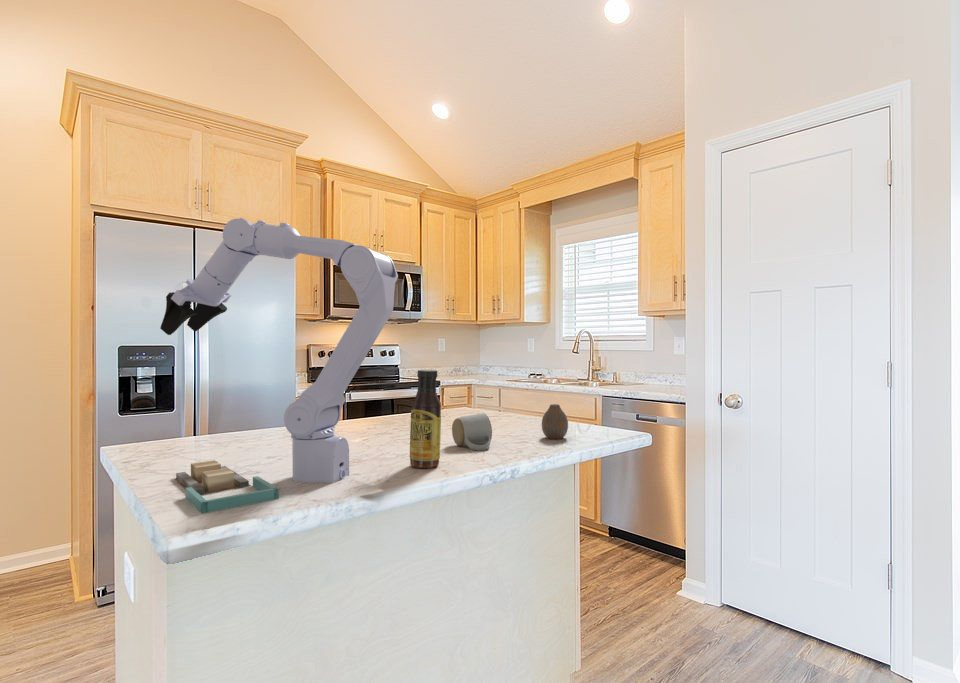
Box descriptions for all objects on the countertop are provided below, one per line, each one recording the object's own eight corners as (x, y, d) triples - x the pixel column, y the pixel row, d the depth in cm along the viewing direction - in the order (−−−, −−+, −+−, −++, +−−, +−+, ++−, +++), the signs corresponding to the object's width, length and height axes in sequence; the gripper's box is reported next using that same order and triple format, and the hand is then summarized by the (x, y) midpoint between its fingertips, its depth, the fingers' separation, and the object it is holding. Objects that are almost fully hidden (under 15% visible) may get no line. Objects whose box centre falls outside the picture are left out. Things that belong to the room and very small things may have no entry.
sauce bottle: (403, 467, 110) (403, 370, 110) (420, 461, 116) (420, 368, 116) (430, 471, 107) (430, 371, 107) (447, 464, 113) (446, 369, 113)
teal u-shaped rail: (278, 507, 84) (278, 488, 84) (201, 523, 77) (201, 502, 77) (257, 493, 92) (257, 476, 92) (185, 506, 85) (185, 487, 85)
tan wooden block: (234, 487, 91) (234, 472, 91) (208, 491, 88) (208, 476, 88) (227, 482, 94) (227, 468, 94) (202, 486, 91) (201, 471, 91)
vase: (537, 436, 145) (537, 403, 144) (560, 435, 147) (560, 402, 147) (548, 441, 138) (548, 406, 138) (572, 439, 140) (572, 405, 140)
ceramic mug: (450, 444, 134) (450, 413, 134) (479, 441, 138) (480, 411, 138) (467, 453, 125) (467, 420, 125) (499, 449, 128) (499, 417, 128)
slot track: (251, 494, 92) (251, 480, 92) (192, 505, 86) (192, 490, 86) (227, 478, 102) (227, 465, 102) (173, 486, 97) (173, 473, 97)
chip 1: (220, 478, 97) (220, 464, 97) (196, 482, 94) (196, 467, 94) (214, 473, 100) (214, 460, 100) (190, 477, 97) (190, 463, 97)
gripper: (225, 262, 109) (187, 313, 111) (177, 259, 94) (135, 318, 97) (251, 285, 109) (213, 336, 111) (207, 285, 94) (165, 344, 96)
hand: (178, 329), depth 104 cm, fingers open, 7 cm apart
